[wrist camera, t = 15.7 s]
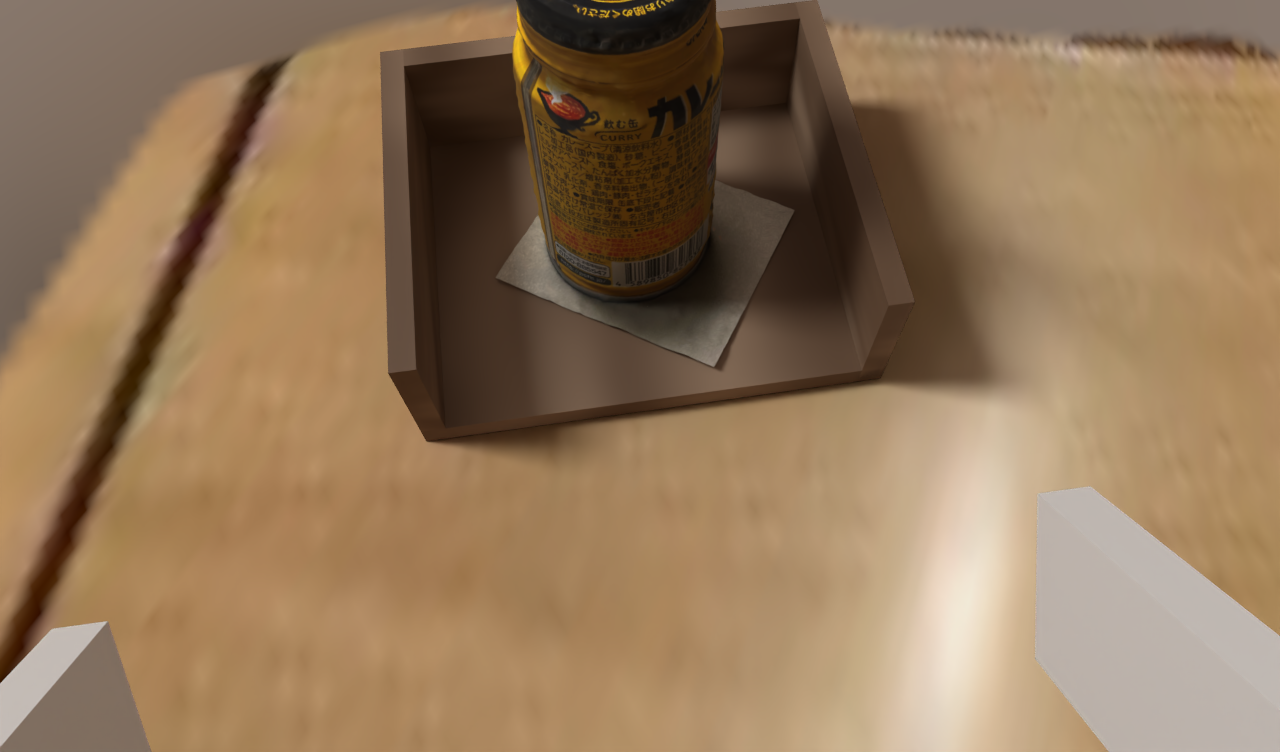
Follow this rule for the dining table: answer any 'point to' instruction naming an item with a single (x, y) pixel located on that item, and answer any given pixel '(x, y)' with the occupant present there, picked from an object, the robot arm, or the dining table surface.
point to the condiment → (634, 172)
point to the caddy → (587, 348)
